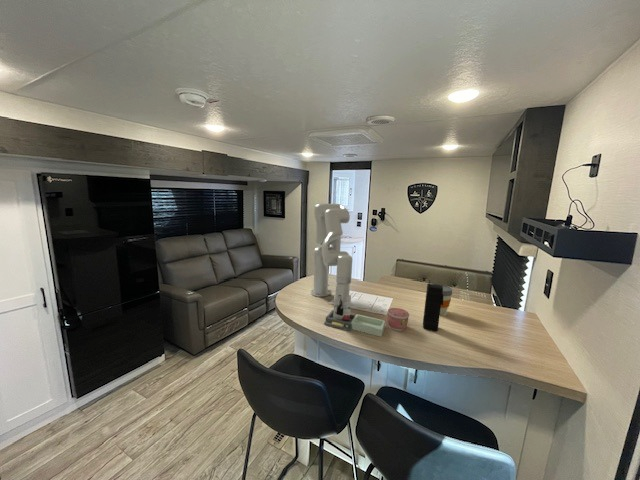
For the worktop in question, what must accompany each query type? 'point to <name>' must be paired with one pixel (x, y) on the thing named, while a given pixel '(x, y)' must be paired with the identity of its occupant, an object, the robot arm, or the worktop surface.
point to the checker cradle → (339, 322)
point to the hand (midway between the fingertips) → (341, 312)
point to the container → (397, 318)
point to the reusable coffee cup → (445, 298)
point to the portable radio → (432, 306)
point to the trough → (368, 325)
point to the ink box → (345, 309)
